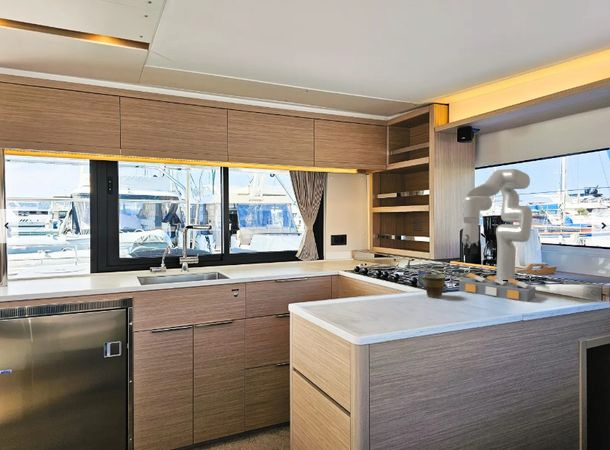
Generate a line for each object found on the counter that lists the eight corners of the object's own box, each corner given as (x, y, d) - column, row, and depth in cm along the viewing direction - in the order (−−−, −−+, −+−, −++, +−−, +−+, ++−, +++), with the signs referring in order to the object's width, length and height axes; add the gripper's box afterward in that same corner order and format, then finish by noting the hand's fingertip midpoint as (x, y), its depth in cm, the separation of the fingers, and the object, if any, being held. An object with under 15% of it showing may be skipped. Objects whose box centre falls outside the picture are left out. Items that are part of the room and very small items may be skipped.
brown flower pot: (442, 294, 208) (442, 274, 207) (447, 299, 198) (447, 278, 198) (415, 293, 209) (415, 273, 209) (419, 298, 200) (419, 277, 199)
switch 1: (469, 275, 219) (470, 272, 218) (484, 281, 213) (485, 278, 213) (466, 276, 216) (467, 274, 215) (481, 283, 210) (482, 280, 210)
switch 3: (510, 281, 205) (511, 278, 204) (527, 287, 199) (528, 284, 199) (507, 282, 202) (508, 279, 201) (524, 289, 197) (525, 286, 196)
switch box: (468, 286, 223) (469, 275, 223) (535, 297, 201) (535, 283, 201) (458, 291, 214) (458, 278, 214) (526, 302, 192) (527, 288, 192)
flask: (416, 285, 227) (416, 266, 226) (420, 285, 228) (420, 265, 228) (428, 289, 219) (429, 268, 218) (433, 288, 220) (433, 268, 219)
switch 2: (489, 278, 212) (490, 275, 211) (505, 284, 206) (506, 281, 206) (486, 279, 209) (487, 276, 208) (502, 286, 204) (503, 283, 203)
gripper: (471, 219, 223) (470, 252, 224) (456, 221, 210) (456, 255, 212) (485, 220, 218) (484, 253, 219) (471, 222, 205) (470, 257, 206)
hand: (470, 254), depth 215 cm, fingers open, 8 cm apart
